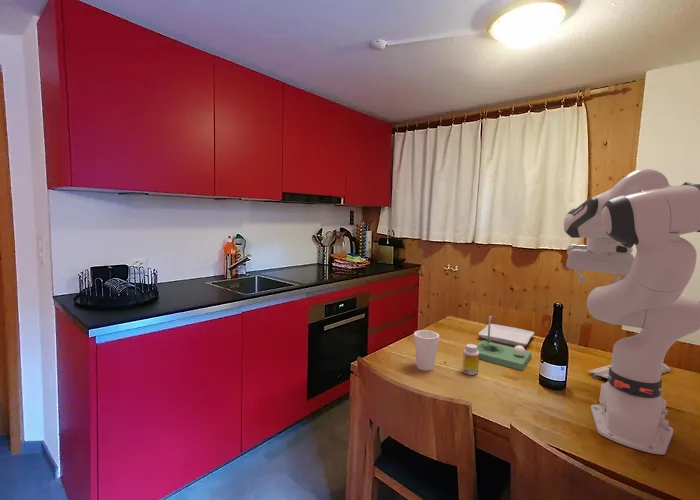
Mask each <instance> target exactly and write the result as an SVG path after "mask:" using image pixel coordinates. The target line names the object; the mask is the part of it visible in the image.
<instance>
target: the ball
mask: <svg viewBox="0 0 700 500" xmlns="http://www.w3.org/2000/svg"><path fill="white" fill-rule="evenodd" d="M513 348H514V353H515V354H516V355H517V356H523V355H524V354H525V350H526V349H525V346H520V345H518V346H514V347H513Z"/></svg>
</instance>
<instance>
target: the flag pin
mask: <svg viewBox="0 0 700 500" xmlns="http://www.w3.org/2000/svg"><path fill="white" fill-rule="evenodd" d="M492 320H493V314H491V315H489V316H488V324H487V325H488V340H487V339H486V341H487V343H489V342H490V340H489V339H490V324H492V323H491V321H492Z"/></svg>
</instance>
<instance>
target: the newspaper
mask: <svg viewBox="0 0 700 500" xmlns="http://www.w3.org/2000/svg"><path fill="white" fill-rule="evenodd" d="M610 367H611V364H608V365H605V366H600V367H598V368H592V369H589V370H587V372H589V373H590V374H591V373H593V374H591V375H590V377H591V378H592V379H596V380H600V379H603V378H606V379H608V372H609V368H610ZM671 371H672V369H671V368H670V367H669V366H668V364H666V363H664V362H663V365H662V371H661V376H662V375H665V374H666V373H670V372H671Z"/></svg>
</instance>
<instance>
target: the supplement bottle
mask: <svg viewBox="0 0 700 500" xmlns="http://www.w3.org/2000/svg"><path fill="white" fill-rule="evenodd" d="M476 345H477V344H473V343H467V344H465V349H464V350H463V352H462V355H463V356H462V372H463V373H465V374H467V375H470V376H475V375H477V374H479V363H480V359H479V352H478V351H477V346H476Z"/></svg>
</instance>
